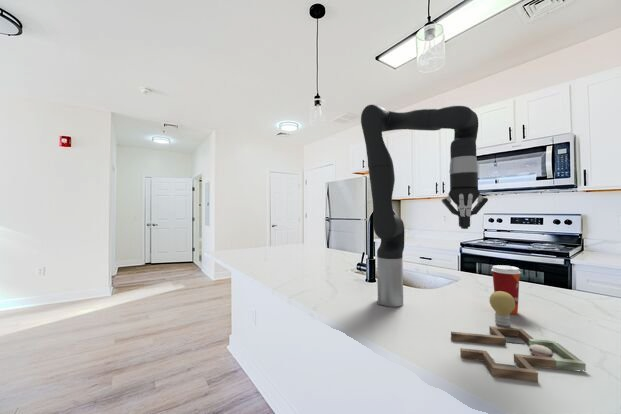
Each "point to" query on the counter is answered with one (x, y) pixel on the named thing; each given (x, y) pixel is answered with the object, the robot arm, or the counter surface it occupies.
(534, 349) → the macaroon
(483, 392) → the counter surface
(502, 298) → the light bulb
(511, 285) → the coffee cup
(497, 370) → the brown green zigzag frame
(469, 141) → the robot arm
